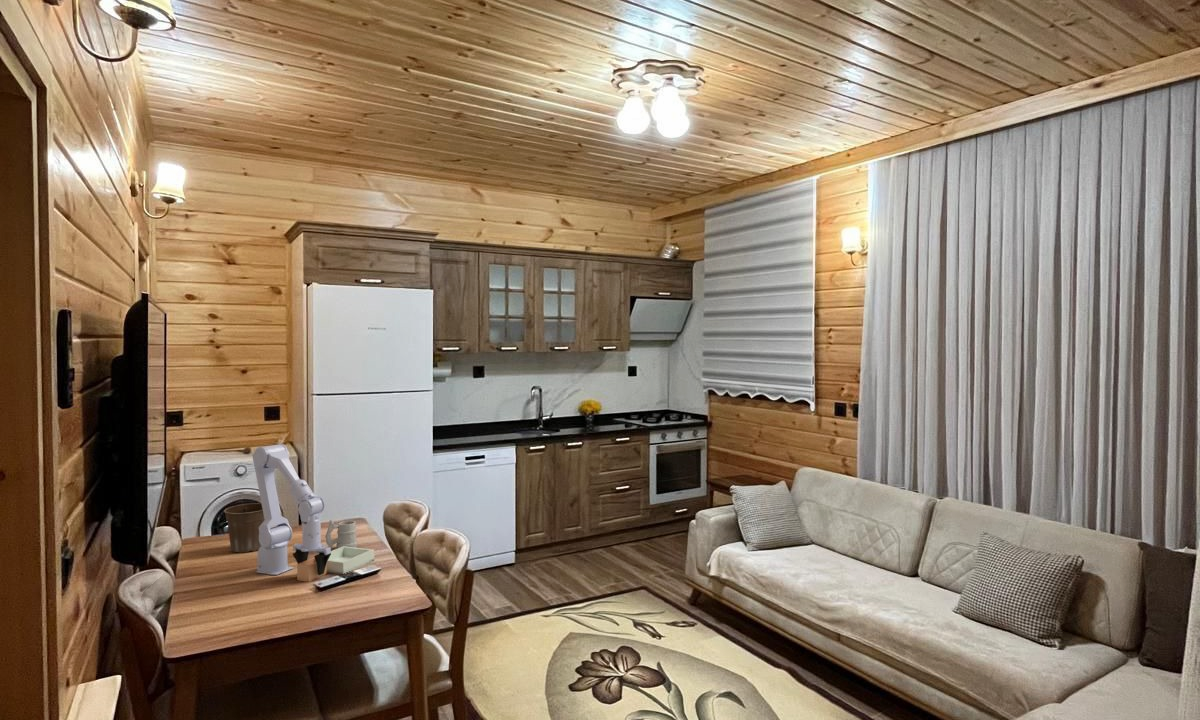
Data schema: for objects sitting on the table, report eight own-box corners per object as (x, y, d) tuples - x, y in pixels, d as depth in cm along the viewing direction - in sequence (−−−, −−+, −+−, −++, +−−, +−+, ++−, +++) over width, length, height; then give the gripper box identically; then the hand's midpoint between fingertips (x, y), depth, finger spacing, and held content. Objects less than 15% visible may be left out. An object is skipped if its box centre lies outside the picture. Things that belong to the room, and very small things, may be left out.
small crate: (297, 580, 228) (297, 564, 228) (315, 572, 235) (315, 557, 235) (309, 581, 226) (308, 565, 226) (326, 574, 233) (326, 558, 233)
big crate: (311, 570, 238) (311, 558, 238) (343, 556, 253) (343, 546, 253) (343, 574, 233) (343, 562, 233) (374, 560, 248) (374, 549, 248)
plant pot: (258, 555, 256) (257, 512, 256) (215, 555, 257) (215, 512, 256) (278, 542, 273) (278, 502, 272) (239, 542, 273) (238, 503, 273)
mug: (360, 548, 264) (359, 517, 264) (328, 554, 257) (327, 522, 257) (354, 544, 270) (354, 514, 270) (323, 549, 263) (322, 518, 263)
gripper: (285, 534, 229) (286, 574, 229) (319, 538, 224) (320, 579, 224) (301, 529, 236) (302, 568, 236) (335, 533, 231) (335, 572, 231)
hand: (312, 573), depth 230 cm, fingers open, 7 cm apart
